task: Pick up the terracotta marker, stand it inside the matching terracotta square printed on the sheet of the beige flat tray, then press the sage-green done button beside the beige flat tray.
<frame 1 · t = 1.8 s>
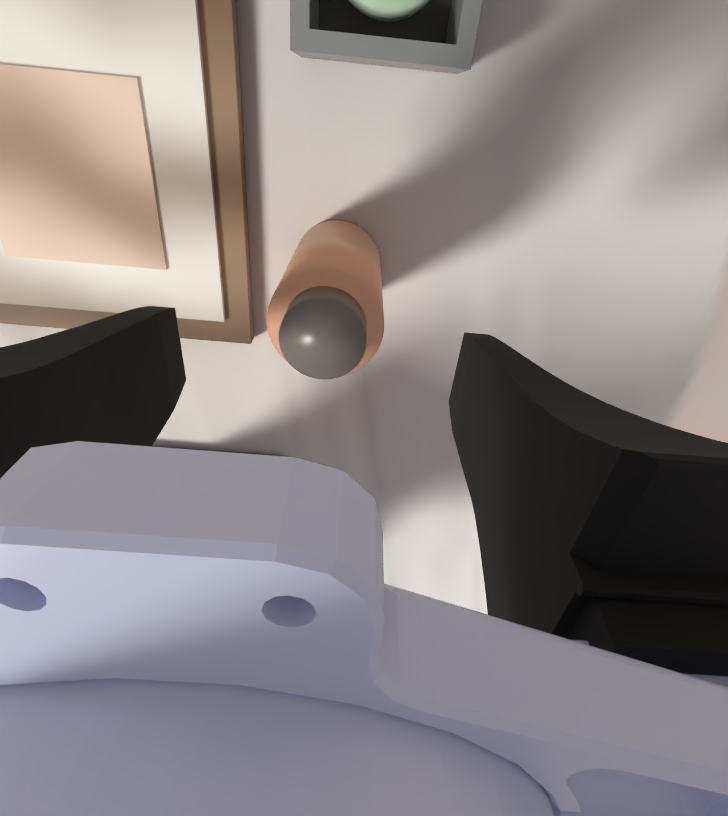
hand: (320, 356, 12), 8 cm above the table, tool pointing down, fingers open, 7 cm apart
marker: (337, 264, 18), on the table
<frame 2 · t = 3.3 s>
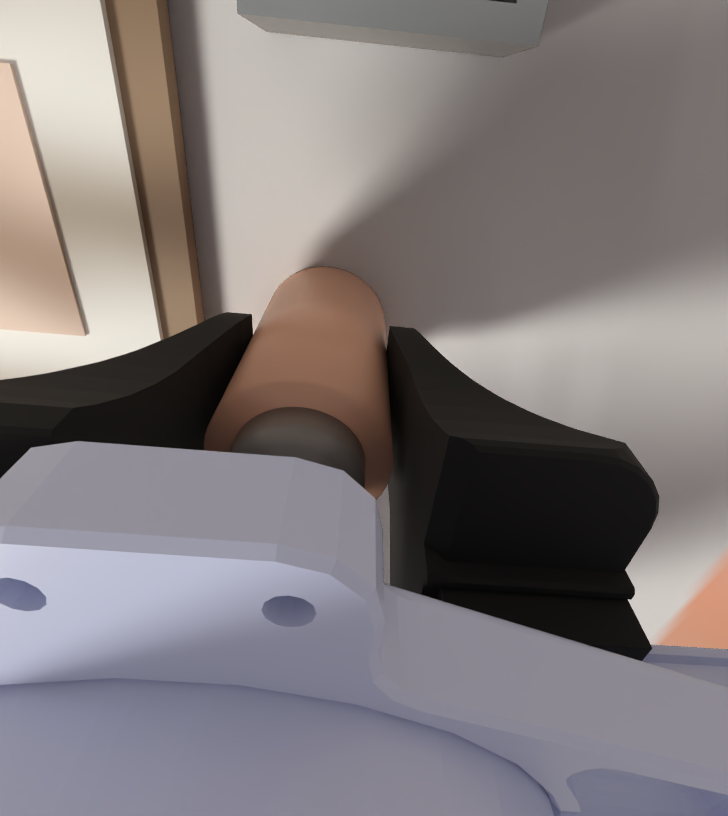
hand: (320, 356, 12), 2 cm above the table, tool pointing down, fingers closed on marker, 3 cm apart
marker: (326, 325, 13), on the table, touching gripper
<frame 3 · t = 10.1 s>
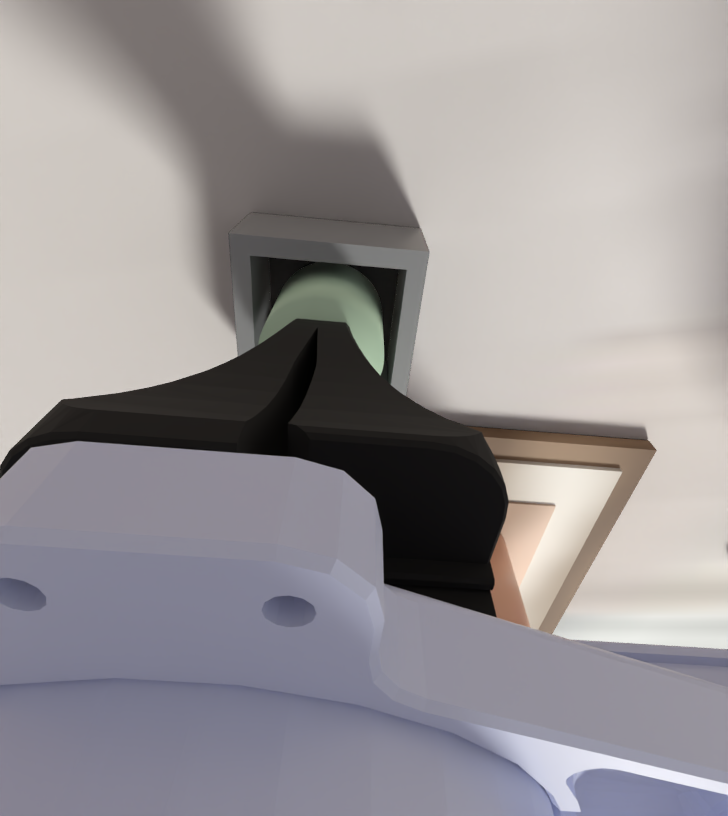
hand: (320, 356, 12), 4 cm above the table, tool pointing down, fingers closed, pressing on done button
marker: (466, 549, 20), point 1 cm above the table, touching beige flat tray
button housing: (332, 301, 15), on the table
done button: (325, 334, 13), point 2 cm above the table, slide at 0.6 cm, touching gripper
beige flat tray: (416, 591, 23), on the table
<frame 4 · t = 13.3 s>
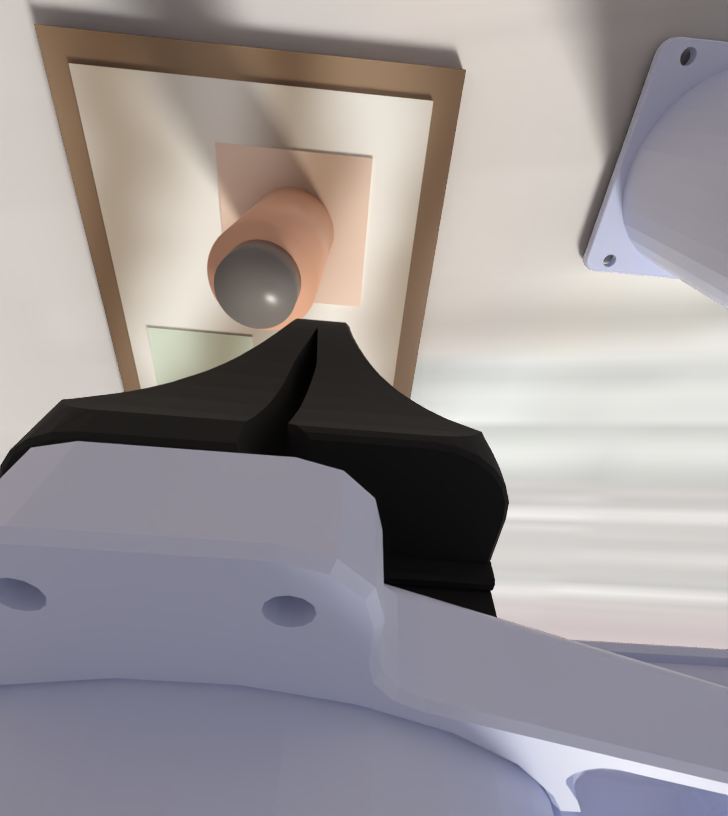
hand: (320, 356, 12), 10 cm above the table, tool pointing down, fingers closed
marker: (293, 231, 19), point 1 cm above the table, touching beige flat tray
beige flat tray: (266, 320, 22), on the table
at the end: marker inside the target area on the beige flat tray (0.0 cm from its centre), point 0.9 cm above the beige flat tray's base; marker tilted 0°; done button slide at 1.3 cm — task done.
